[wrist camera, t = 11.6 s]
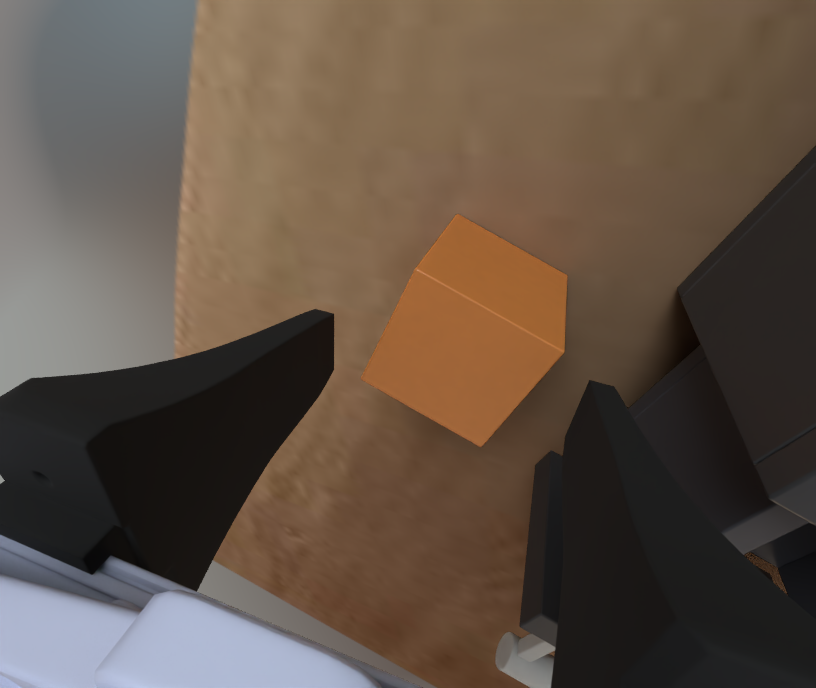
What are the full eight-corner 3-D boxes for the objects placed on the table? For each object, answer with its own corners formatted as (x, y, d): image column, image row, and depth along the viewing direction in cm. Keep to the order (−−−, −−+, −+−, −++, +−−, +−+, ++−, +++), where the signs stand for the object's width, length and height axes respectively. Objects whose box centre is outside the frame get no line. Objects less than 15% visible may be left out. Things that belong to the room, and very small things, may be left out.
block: (502, 361, 18) (481, 448, 14) (407, 307, 18) (359, 379, 14) (568, 275, 15) (565, 352, 11) (457, 212, 15) (415, 268, 11)
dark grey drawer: (650, 626, 22) (674, 808, 17) (472, 524, 23) (439, 673, 17) (1103, 428, 12) (1537, 734, 7) (768, 241, 12) (924, 391, 7)
